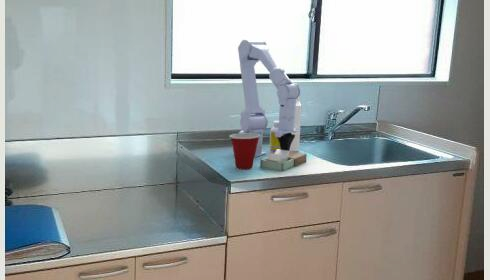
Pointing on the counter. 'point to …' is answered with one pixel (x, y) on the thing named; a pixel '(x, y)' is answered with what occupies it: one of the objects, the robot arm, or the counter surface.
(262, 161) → the tray
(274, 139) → the supplement bottle
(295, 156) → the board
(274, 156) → the tile front
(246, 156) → the plastic cup
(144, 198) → the counter surface
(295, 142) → the milk
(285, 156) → the tile back
